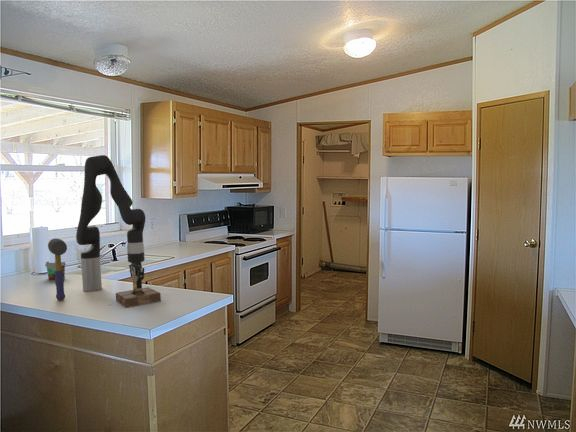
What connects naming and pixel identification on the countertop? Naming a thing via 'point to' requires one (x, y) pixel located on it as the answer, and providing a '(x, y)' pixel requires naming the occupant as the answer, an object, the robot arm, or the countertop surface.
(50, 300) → the countertop surface
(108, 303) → the countertop surface
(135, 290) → the oak peg
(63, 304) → the countertop surface
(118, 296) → the walnut board
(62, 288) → the rubber mallet
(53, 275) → the food container
